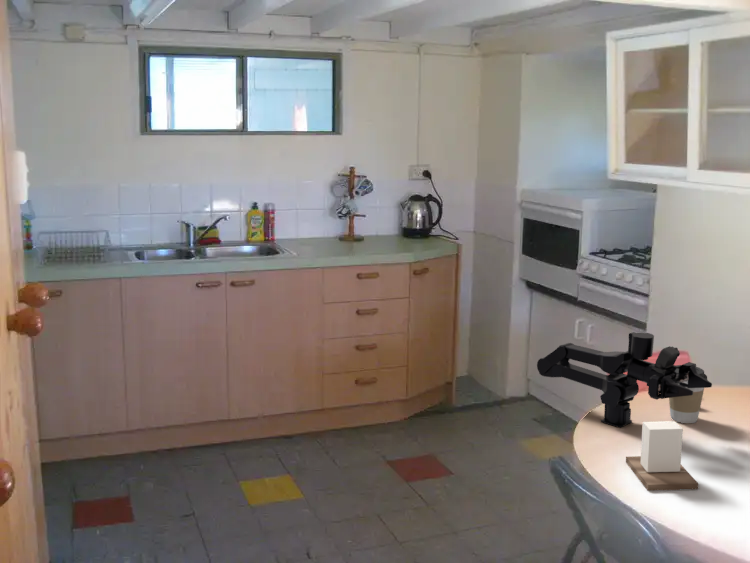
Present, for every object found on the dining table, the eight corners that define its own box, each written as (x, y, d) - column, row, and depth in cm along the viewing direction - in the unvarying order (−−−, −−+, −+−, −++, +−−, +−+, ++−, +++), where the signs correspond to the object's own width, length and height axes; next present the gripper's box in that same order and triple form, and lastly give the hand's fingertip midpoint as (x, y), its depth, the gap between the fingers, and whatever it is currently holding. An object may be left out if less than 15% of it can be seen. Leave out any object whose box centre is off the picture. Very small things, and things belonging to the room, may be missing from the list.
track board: (625, 462, 207) (626, 456, 207) (672, 460, 207) (672, 455, 207) (647, 490, 191) (647, 484, 191) (697, 489, 192) (698, 483, 191)
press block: (639, 462, 202) (641, 421, 200) (671, 461, 202) (673, 420, 200) (647, 472, 197) (649, 429, 195) (680, 471, 197) (682, 428, 195)
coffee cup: (701, 413, 239) (704, 364, 236) (708, 427, 228) (711, 376, 225) (660, 411, 242) (663, 362, 238) (665, 425, 231) (668, 375, 228)
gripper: (631, 351, 215) (685, 367, 203) (670, 338, 226) (724, 352, 215) (628, 391, 218) (681, 408, 206) (667, 376, 229) (719, 392, 217)
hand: (702, 389), depth 211 cm, fingers open, 9 cm apart
